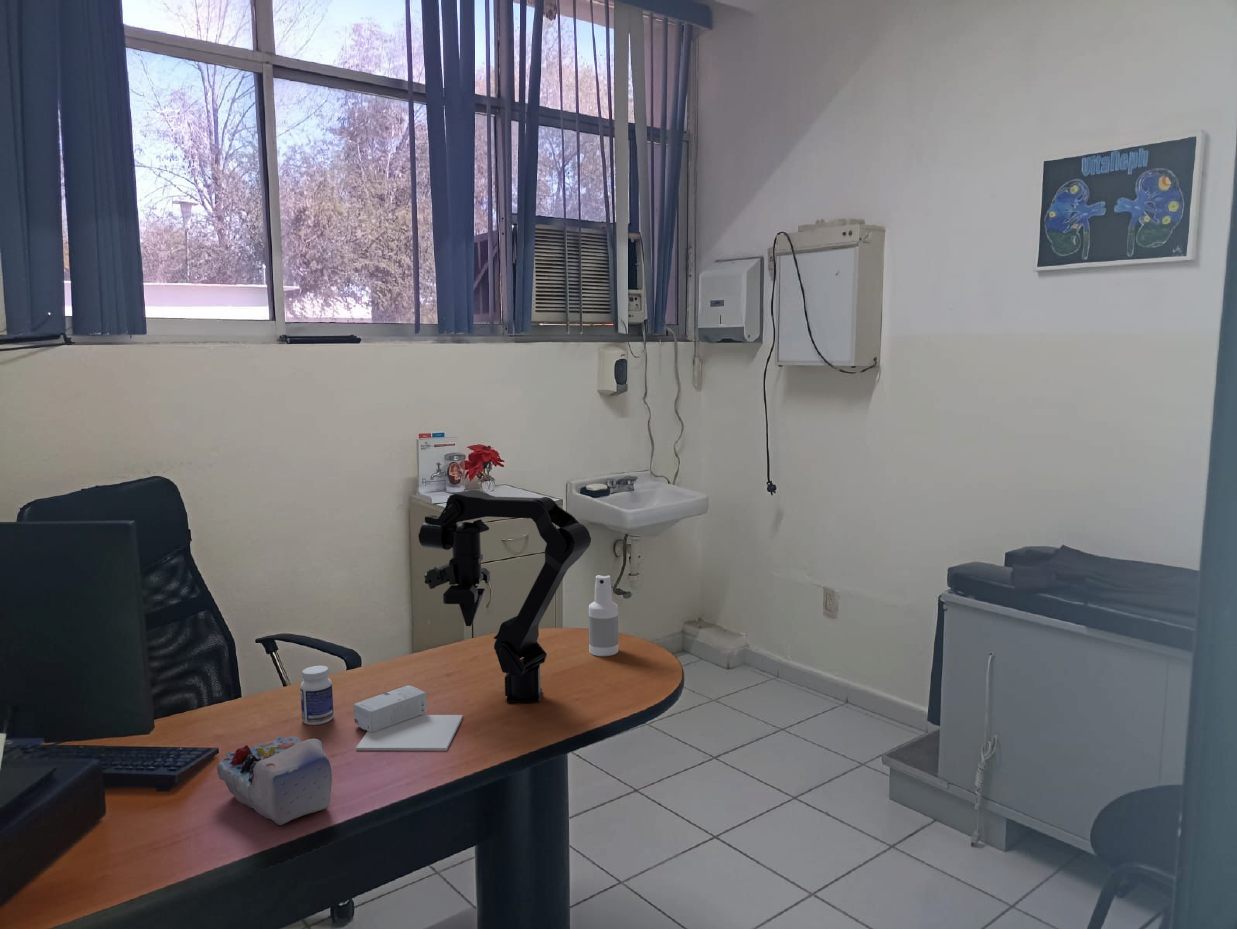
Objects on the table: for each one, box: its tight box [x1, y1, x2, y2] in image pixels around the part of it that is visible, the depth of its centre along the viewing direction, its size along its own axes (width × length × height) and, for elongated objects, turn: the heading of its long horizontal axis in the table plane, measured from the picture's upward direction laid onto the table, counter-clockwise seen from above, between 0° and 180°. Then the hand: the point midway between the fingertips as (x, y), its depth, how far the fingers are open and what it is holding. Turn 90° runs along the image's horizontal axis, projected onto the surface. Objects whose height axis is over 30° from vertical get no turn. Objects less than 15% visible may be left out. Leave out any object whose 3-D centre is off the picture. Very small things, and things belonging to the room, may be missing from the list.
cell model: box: [216, 735, 333, 826], centre depth 135 cm, size 13×11×20 cm
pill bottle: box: [299, 665, 335, 726], centre depth 165 cm, size 6×6×10 cm
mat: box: [355, 714, 464, 752], centre depth 159 cm, size 16×14×1 cm
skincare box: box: [353, 684, 427, 733], centre depth 164 cm, size 6×4×12 cm
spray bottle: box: [588, 574, 619, 657], centre depth 201 cm, size 7×7×18 cm
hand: (468, 625), depth 180 cm, fingers closed
